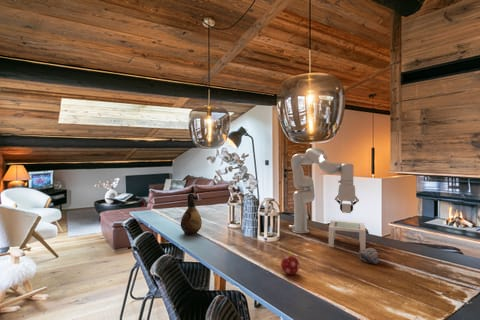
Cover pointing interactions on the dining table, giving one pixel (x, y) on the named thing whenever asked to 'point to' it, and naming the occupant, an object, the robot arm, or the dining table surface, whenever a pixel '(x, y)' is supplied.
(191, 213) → the ceramic jug
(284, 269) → the christmas ornament
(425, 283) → the dining table surface
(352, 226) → the trapdoor
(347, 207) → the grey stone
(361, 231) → the frame
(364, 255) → the pumice stone
